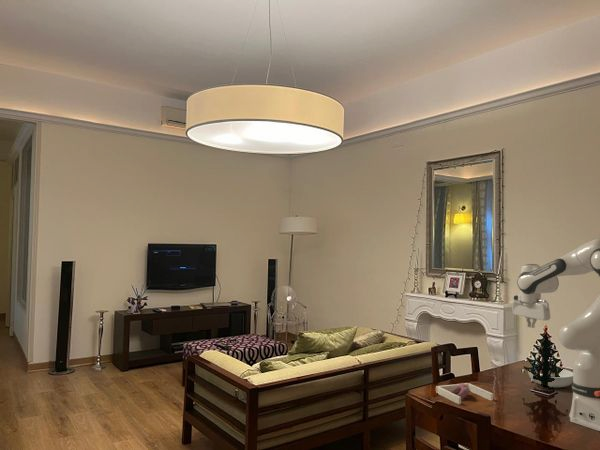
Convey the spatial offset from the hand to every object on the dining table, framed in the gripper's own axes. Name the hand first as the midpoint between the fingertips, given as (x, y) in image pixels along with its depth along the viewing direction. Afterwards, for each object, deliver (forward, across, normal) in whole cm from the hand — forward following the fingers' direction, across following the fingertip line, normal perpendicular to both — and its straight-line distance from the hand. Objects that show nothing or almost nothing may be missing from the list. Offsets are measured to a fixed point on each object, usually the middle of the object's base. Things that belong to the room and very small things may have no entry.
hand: (530, 327), depth 226 cm
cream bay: (+31, +5, +34) cm, 46 cm away
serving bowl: (+31, +8, -20) cm, 38 cm away
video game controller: (+32, +6, +36) cm, 48 cm away
